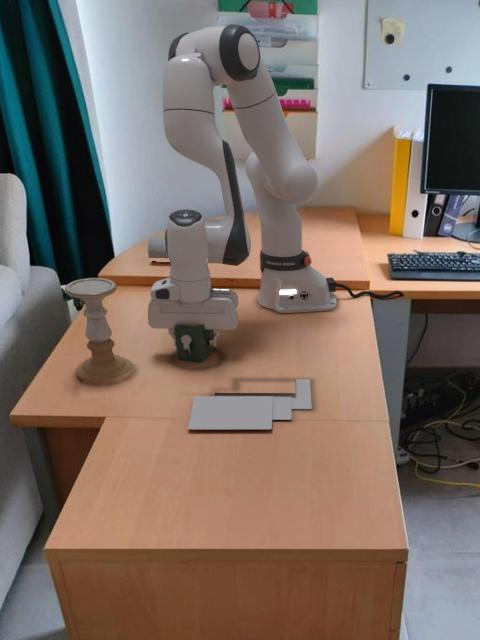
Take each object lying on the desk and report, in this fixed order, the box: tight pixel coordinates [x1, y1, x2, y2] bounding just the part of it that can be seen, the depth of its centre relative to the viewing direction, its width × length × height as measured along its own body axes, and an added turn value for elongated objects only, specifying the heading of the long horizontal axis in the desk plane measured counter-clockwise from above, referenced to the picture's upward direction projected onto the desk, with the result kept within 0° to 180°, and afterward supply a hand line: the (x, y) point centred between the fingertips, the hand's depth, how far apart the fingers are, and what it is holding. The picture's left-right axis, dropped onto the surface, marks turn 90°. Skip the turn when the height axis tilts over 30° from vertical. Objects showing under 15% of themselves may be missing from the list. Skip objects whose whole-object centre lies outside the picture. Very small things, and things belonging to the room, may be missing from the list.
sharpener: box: [174, 324, 217, 363], centre depth 167 cm, size 12×6×8 cm, turn 167°
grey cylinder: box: [147, 236, 168, 259], centre depth 227 cm, size 11×8×8 cm
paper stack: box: [186, 378, 313, 431], centre depth 153 cm, size 23×25×1 cm
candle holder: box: [64, 277, 133, 382], centre depth 157 cm, size 12×12×20 cm
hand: (195, 345), depth 169 cm, fingers closed on sharpener, 6 cm apart
